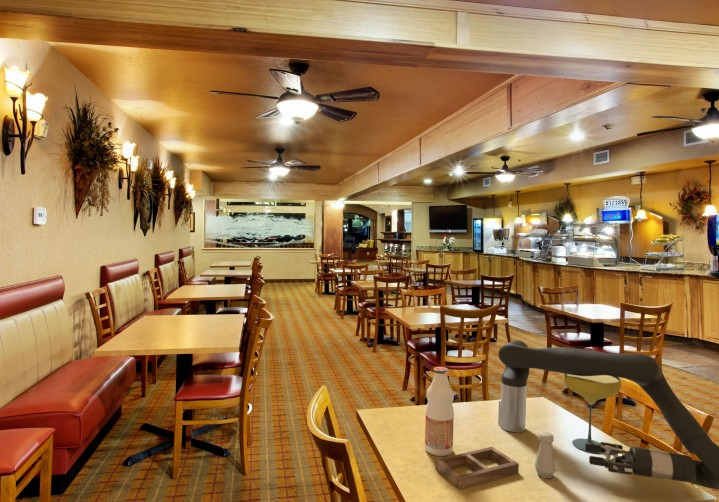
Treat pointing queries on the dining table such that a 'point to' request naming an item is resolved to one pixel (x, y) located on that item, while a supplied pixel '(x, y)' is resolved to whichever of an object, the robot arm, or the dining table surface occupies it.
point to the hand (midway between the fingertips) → (587, 453)
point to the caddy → (477, 467)
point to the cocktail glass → (591, 395)
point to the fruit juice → (439, 415)
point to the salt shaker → (545, 456)
